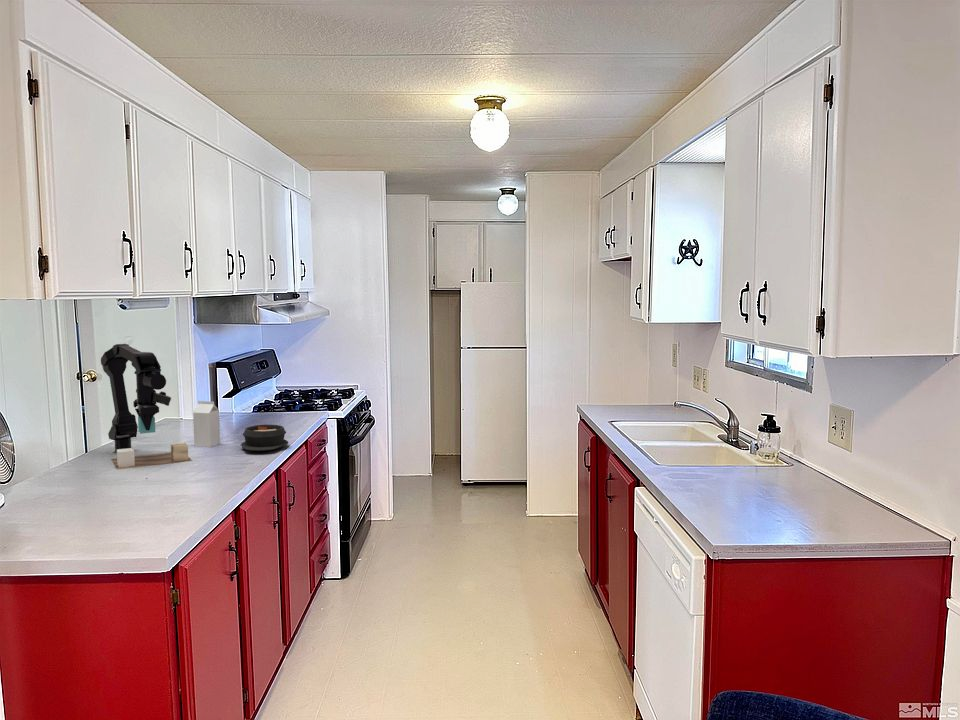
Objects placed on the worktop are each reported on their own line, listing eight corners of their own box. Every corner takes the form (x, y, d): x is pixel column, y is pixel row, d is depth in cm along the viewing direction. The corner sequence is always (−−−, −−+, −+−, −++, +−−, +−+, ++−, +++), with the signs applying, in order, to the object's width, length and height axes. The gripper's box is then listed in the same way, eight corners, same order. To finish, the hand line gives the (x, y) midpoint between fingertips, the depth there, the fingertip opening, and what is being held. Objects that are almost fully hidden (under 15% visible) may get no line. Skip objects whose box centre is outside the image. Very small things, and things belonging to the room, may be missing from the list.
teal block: (138, 431, 264) (137, 416, 263) (153, 429, 267) (152, 415, 266) (140, 433, 260) (139, 418, 259) (155, 432, 263) (154, 417, 262)
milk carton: (210, 450, 285) (208, 403, 283) (194, 449, 286) (192, 402, 284) (220, 446, 292) (218, 400, 290) (204, 445, 293) (203, 399, 291)
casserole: (247, 441, 301) (247, 422, 301) (292, 441, 304) (292, 421, 303) (234, 455, 277) (233, 434, 276) (283, 454, 279) (283, 433, 278)
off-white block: (117, 464, 256) (116, 449, 255) (132, 462, 258) (132, 447, 258) (119, 467, 252) (118, 452, 251) (134, 465, 254) (134, 450, 254)
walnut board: (111, 462, 264) (110, 458, 264) (183, 454, 278) (182, 451, 278) (116, 472, 249) (116, 469, 249) (192, 464, 263) (192, 460, 262)
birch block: (171, 458, 265) (170, 444, 265) (185, 457, 268) (185, 442, 268) (173, 461, 261) (173, 446, 261) (188, 459, 264) (187, 445, 263)
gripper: (173, 388, 258) (174, 431, 260) (164, 382, 274) (165, 422, 275) (139, 390, 252) (141, 434, 254) (132, 384, 268) (134, 425, 269)
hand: (146, 429), depth 263 cm, fingers closed on teal block, 5 cm apart
